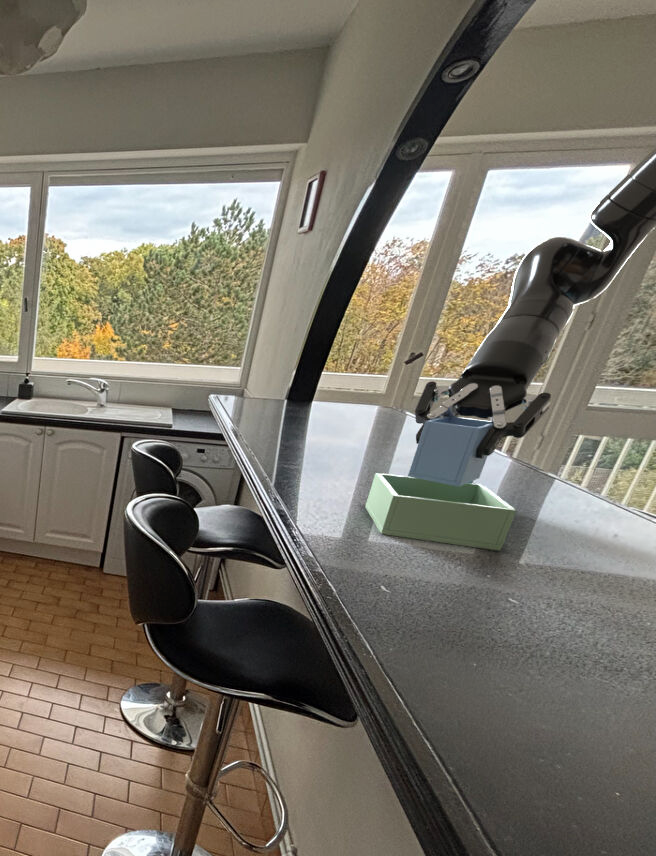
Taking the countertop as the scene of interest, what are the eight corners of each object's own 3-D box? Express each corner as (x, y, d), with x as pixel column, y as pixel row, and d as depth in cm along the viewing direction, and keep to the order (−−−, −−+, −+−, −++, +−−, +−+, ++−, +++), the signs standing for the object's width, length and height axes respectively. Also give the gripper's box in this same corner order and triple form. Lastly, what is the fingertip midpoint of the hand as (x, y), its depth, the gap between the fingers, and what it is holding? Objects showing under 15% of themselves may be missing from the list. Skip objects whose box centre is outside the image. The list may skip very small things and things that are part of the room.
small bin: (479, 478, 84) (500, 422, 81) (458, 486, 80) (480, 428, 77) (429, 468, 89) (447, 415, 86) (407, 476, 85) (425, 420, 82)
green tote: (469, 520, 90) (482, 484, 88) (500, 551, 79) (517, 510, 77) (365, 507, 96) (375, 472, 93) (380, 534, 84) (393, 495, 82)
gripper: (446, 335, 87) (387, 423, 85) (583, 341, 76) (518, 443, 74) (447, 370, 91) (391, 455, 90) (576, 381, 81) (515, 477, 79)
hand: (449, 449), depth 82 cm, fingers closed on small bin, 6 cm apart
